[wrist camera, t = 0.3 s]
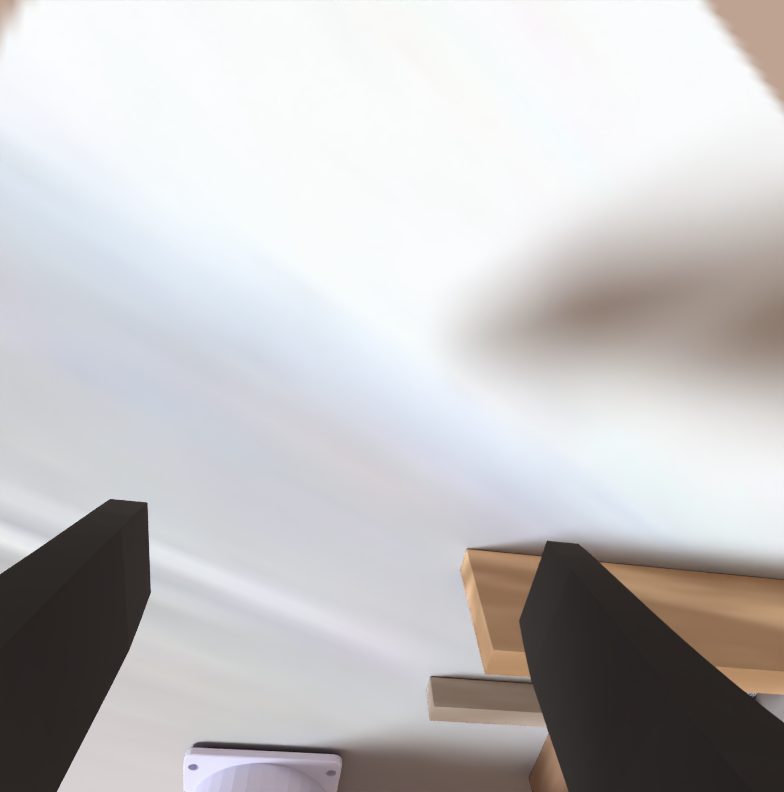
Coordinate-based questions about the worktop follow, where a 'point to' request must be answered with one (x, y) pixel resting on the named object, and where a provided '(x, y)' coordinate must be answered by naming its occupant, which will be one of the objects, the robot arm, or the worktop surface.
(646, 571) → the board
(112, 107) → the worktop surface
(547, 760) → the cabinet block
